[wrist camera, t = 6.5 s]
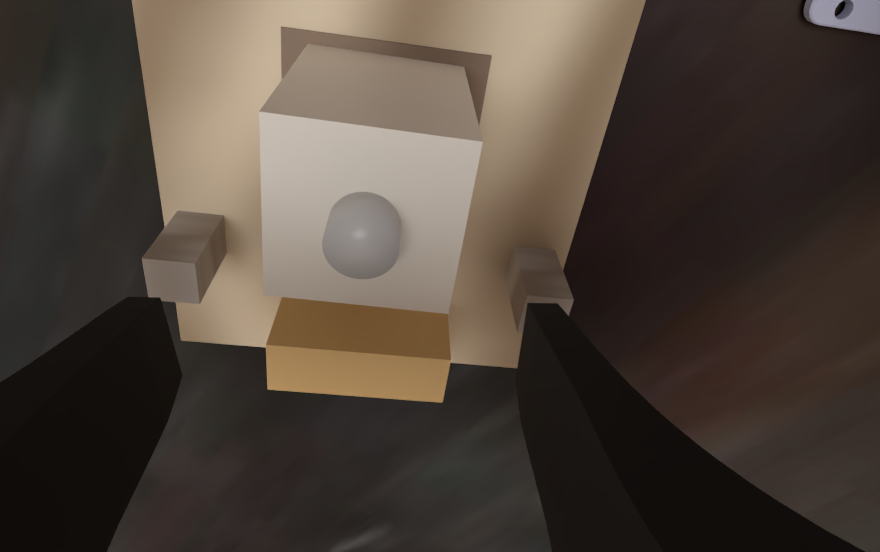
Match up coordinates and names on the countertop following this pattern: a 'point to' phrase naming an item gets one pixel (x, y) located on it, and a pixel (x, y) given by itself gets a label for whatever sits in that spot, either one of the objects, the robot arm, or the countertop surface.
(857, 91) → the countertop surface
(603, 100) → the press bed
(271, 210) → the block
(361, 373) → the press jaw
